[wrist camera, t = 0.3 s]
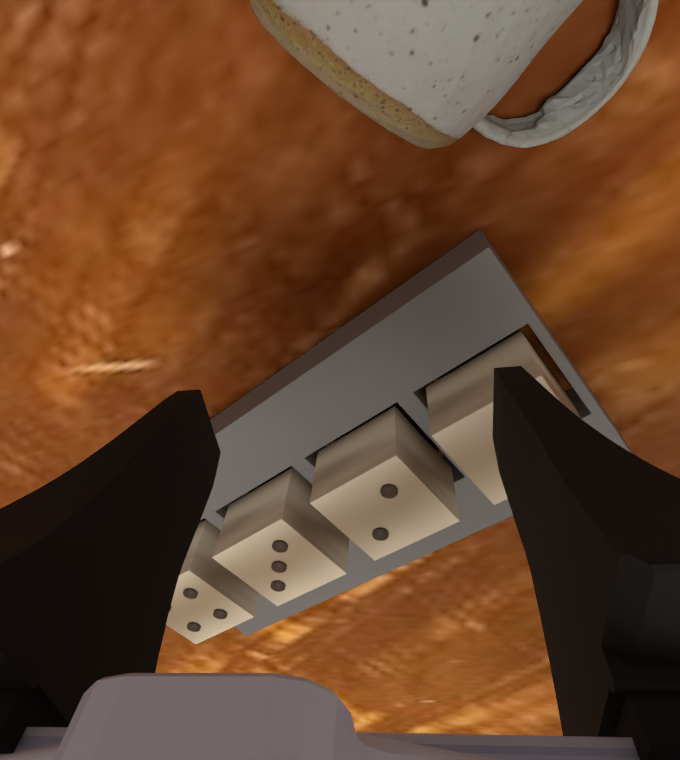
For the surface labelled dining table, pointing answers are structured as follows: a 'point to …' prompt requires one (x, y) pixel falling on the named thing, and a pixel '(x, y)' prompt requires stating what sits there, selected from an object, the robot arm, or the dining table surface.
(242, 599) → the beige square block
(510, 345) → the key
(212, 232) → the dining table surface
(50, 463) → the dining table surface
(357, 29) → the ceramic mug
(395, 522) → the cream dice block
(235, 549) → the beige small block
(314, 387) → the grey slotted tray
